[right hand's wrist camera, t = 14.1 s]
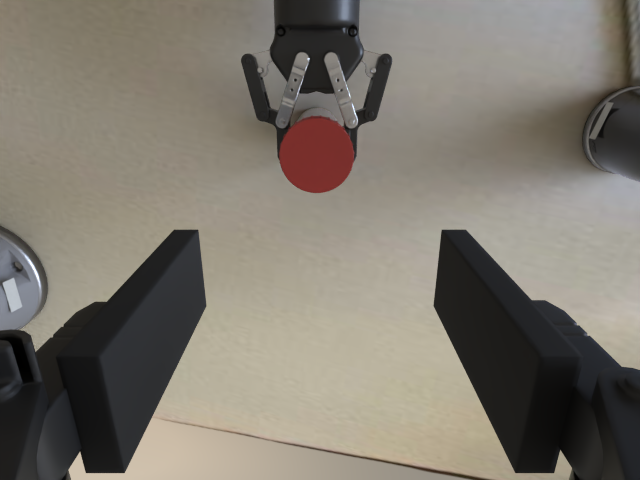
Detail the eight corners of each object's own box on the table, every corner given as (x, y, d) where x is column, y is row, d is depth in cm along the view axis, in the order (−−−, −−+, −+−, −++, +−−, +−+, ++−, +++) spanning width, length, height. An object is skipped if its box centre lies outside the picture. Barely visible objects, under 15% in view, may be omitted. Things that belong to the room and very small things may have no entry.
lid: (280, 185, 36) (277, 192, 34) (281, 112, 34) (278, 115, 32) (350, 189, 36) (351, 195, 34) (355, 116, 34) (357, 119, 32)
